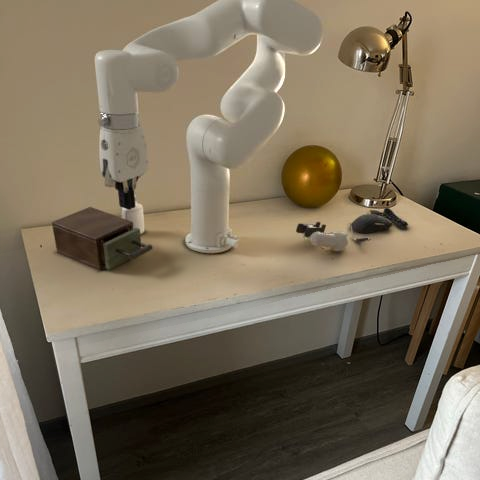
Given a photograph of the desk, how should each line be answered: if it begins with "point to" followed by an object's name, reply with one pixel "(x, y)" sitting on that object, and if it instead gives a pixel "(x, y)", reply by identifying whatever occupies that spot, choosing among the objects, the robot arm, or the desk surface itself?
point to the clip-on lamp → (326, 236)
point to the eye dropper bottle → (135, 216)
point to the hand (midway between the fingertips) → (127, 206)
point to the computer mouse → (376, 221)
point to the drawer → (122, 247)
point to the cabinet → (86, 234)
